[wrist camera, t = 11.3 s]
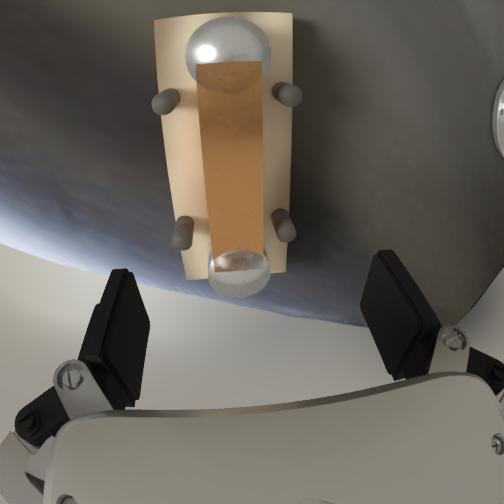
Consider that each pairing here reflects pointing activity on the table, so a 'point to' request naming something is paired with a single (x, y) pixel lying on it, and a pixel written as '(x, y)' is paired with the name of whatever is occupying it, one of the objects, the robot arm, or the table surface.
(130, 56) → the table surface
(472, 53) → the table surface
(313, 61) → the table surface
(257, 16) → the tool rack
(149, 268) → the table surface
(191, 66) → the orange dumbbell
